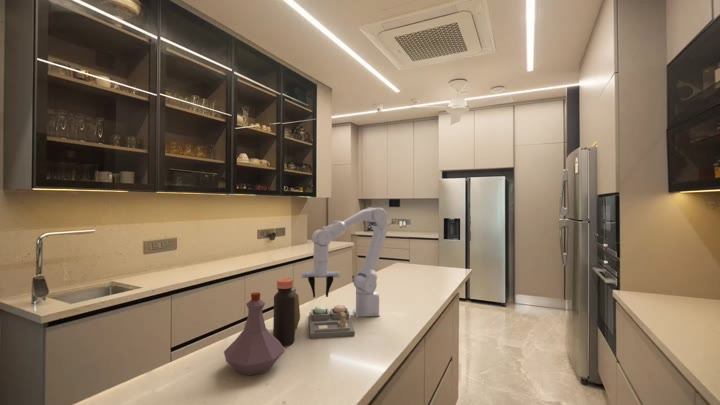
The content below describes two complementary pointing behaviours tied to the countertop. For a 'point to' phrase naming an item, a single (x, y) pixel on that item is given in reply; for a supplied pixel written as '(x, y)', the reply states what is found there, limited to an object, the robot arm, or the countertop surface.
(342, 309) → the pink button
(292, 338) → the vinegar
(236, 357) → the flask
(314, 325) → the panel
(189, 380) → the countertop surface
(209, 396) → the countertop surface
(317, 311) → the mint button
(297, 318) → the squeeze bottle
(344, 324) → the tan wooden step block
